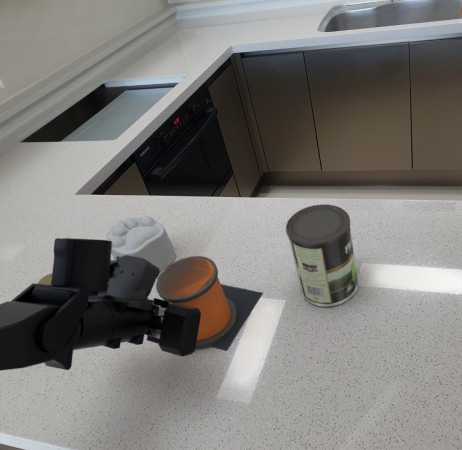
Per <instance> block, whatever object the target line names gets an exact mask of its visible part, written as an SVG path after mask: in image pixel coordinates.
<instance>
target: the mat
mask: <svg viewBox="0 0 462 450" xmlns="http://www.w3.org/2000/svg"><path fill="white" fill-rule="evenodd" d="M220 284H221V287H222V289H223V292H224V295H225V297H226V298H228V299H230V300H231V301H232V302H233V303H234V305H235V307H236V310H237V313H238V319H237V323H236V326H235V327H234V329H233V331H232V332H231V333H230V334H229V335H228V336H227V337H226V338H225V339H224V340H222V341H221V342H219V343H217V344H215V345H213V346H210V347H211V348H215V349H218V350H222V351H228V350H229V348H230V346H231V345H232V343H233V342H234V340H235V338H236V337H237V335H238V333H239V332H240V330H241V329H242V327H243V325H244V324H245V322H246V321H247V320H248V317H249V316H250V314H251V313H252V311H253V310H254V308H255V307H256V305H257V303H258V301H259V300H260V299H261V297H262V295H263V294H264V293H263V292H261V291H255V290H252V289H246V288H242V287H236V286H231V285H228V284H227V285H226V284H222V283H220Z"/></svg>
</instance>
